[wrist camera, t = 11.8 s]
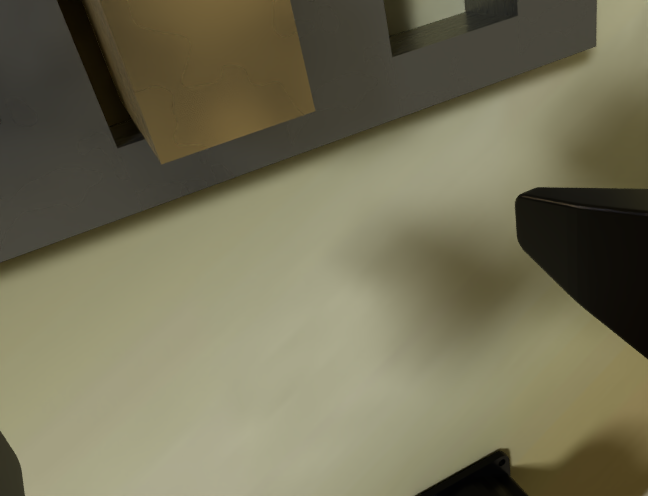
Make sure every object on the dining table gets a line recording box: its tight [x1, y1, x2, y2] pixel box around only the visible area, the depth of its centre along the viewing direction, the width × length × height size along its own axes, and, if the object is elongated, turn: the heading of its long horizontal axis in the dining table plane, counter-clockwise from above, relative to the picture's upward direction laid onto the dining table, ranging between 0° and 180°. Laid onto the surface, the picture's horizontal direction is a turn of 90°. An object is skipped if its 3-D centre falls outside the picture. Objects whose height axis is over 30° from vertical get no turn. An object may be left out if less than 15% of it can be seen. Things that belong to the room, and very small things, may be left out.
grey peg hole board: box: [0, 0, 597, 262], centre depth 17 cm, size 30×9×3 cm, turn 103°
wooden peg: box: [81, 0, 315, 164], centre depth 15 cm, size 4×4×8 cm
